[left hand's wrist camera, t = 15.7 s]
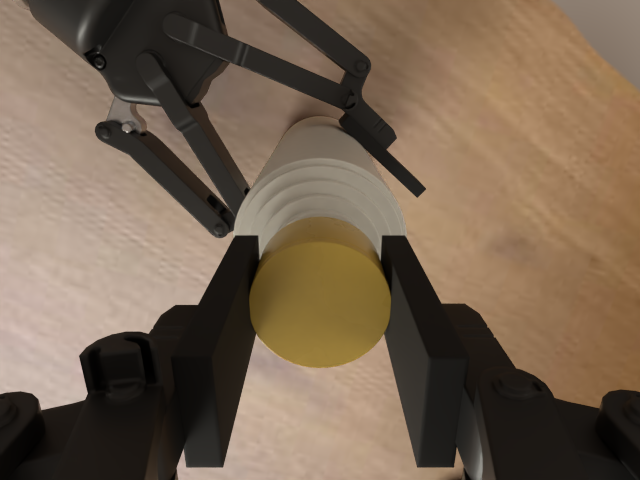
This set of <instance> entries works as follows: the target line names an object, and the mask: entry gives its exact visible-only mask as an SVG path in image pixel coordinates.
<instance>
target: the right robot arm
mask: <svg viewBox="0 0 640 480" xmlns="http://www.w3.org/2000/svg"><path fill="white" fill-rule="evenodd" d="M13 1H14V2H15V3H16V4H17V5H19V6H20V7H22V8H25V9H27V10H30V11H31V13H32V15H33V17H34V18H35V19H36V20H37V21H38V22H39V23H41V24H42V25H43V26H44V27H45V28H47V29H48V30H49V31H50V32H51V33H53V34H54V35H55V36H56V37H57V38H59V39H60V40H61V41H62V42H63V43H65V44H66V45H67V46H68V47H69V48H71V49H72V50H73V51H74V52H75V53H77V54H78V55H79V56H80V57H81V58H83V59H84V60H85V61H86V62H87V63H89V64H90V65H91V66H93V67H94V68H95V69H96V70H98V71H99V72H100V73H101V74H102V76H103V77H104V78H105V80H106V82H107V83H108V86H109V88H110V90H111V91H112V93H113V94H114V95H115V97H114V100H113V103H112V106H111V108H110V111H109V114H108V117H107V120H106V121H104V122H100V123H98V124H97V126H96V127H95V133H96V136H97V137H98V139H99V140H101V141H102V142H104V143H106V144H108V145H110V146H112V147H114V148H116V149H118V150H120V151H122V152H124V153H126V154H128V155H130V156H131V157H132V158H133V159H134V160H135V161H136V162H137V163H138V164H139V165H140V166H141V167H142V168H143V169H144V170H145V171H146V172H147V173H148V174H149V175H150V176H152V177H153V178H154V179H155V180H156V181H157V182H158V183H159V184H160V185H161V186H162V187H163V188H164V189H165V190H166V191H167V192H168V193H169V194H170V195H171V196H172V197H173V198H174V199H175V200H177V201H178V202H179V203H180V204H181V205H182V206H183V207H184V208H185V209H186V210H187V211H188V212H189V213H190V214H191V215H192V216H193V217H194V218H195V219H196V220H197V221H198V222H199V223H200V224H202V225H203V226H204V227H205V228H206V229H207V230H208V231H209V232H210V233H211V234H212V235H213V236H215V237H217V238H223V237H225V236H226V235H227V234H228V233H229V232H231V231H233V230H234V225H235V221H236V217H237V214H238V211H239V209H240V207H241V204H242V202H243V201H244V199H245V197H246V196H247V194H248V193H249V191H250V187H249V185H248V184H247V182H246V180H245V179H244V177H243V175H242V174H241V172H240V170H239V169H238V167H237V165H236V164H235V162H234V160H233V159H232V157H231V155H230V154H229V152H228V150H227V149H226V147H225V145H224V144H223V142H222V140H221V139H220V137H219V135H218V134H217V132H216V130H215V129H214V127H213V125H212V124H211V122H210V120H209V118H208V114H207V112H206V110H205V108H204V107H203V105H202V103H201V102H200V101H201V100H202V99H203V97H204V96H205V95H206V93H207V91H208V89H209V86H210V84H211V81H212V80H213V79H214V78H215V77H217V76H218V75H220V74H221V73H222V72H223V71H224V70H225V68H226V67H227V66H228V65H229V63H230V62H231V63H233V64H236V65H238V66H241V67H243V68H246V69H248V70H251V71H253V72H255V73H258V74H260V75H262V76H265V77H267V78H269V79H272V80H274V81H277V82H279V83H281V84H284V85H286V86H288V87H291V88H293V89H295V90H298V91H300V92H303V93H305V94H307V95H310V96H312V97H314V98H317V99H319V100H321V101H324V102H326V103H329V104H331V105H333V106H336V107H338V108H340V109H342V110H343V111H344V112H345V114H344V115H343V116H342V117H341V118H340V119H339V124H340V126H341V127H342V128H344V129H345V130H346V131H347V132H348V133H349V134H350V135H351V136H352V137H353V138H354V139H355V140H356V141H357V142H359V143H360V144H361V145H362V146H363V147H364V148H365V149H366V150H367V151H368V152H369V153H370V154H371V155H372V156H373V157H374V158H375V159H377V160H378V161H379V162H380V163H381V164H382V165H383V166H384V167H385V168H386V169H387V170H388V171H389V172H390V173H391V174H392V175H394V176H395V177H396V178H397V179H398V180H399V181H400V182H401V183H402V184H403V185H404V186H405V187H406V188H407V189H408V190H410V191H411V192H412V193H413V194H414V195H415V196H416V197H417V198H418V197H419V196H420V195H421V194H422V193H423V192H424V191H425V190H426V188H425V187H424V186H423V185H422V184H421V183H420V182H419V181H418V180H417V179H416V178H415V177H414V176H413V175H412V174H411V173H410V172H409V171H408V170H407V169H406V168H405V167H404V166H403V165H402V164H401V163H399V162H398V161H397V160H396V159H395V158H394V157H393V156H392V155H391V154H390V153H389V152H388V151H387V150H386V149H387V148H388V147H389V146H390V145H391V144H392V143H393V142H394V141H395V140H396V139H397V137H396V135H395V132H394V130H393V129H392V128H391V127H390V126H389V125H388V124H387V123H386V122H385V121H384V120H383V119H382V118H381V117H380V116H379V115H378V114H377V113H376V112H375V111H374V110H373V109H371V108H370V107H369V106H368V105H367V104H366V103H365V101H364V100H363V98H362V94H361V93H362V87H363V84H364V82H365V80H366V77H367V75H368V73H369V72H370V69H371V63H370V60H369V59H368V57H367V56H365V55H364V54H363V53H362V52H360V51H359V50H358V49H357V48H355V47H354V46H353V45H352V44H350V43H349V42H348V41H347V40H345V39H344V38H343V37H342V36H340V35H339V34H338V33H337V32H335V31H334V30H333V29H332V28H330V27H329V26H328V25H327V24H325V23H324V22H323V21H322V20H320V19H319V18H318V17H317V16H315V15H314V14H313V13H312V12H310V11H309V10H308V9H307V8H305V7H304V6H303V5H302V4H301V3H299V2H298V1H297V0H256V1H257V2H258V3H260V4H261V5H262V6H263V7H264V8H265V9H267V10H268V11H269V12H270V13H272V14H273V15H274V16H276V17H277V18H278V19H279V20H281V21H282V22H283V23H284V24H286V25H287V26H288V27H290V28H291V29H292V30H293V31H295V32H296V33H297V34H298V35H300V36H301V37H302V38H304V39H305V40H306V41H307V42H309V43H310V44H311V45H313V46H314V47H315V48H316V49H318V50H319V51H320V52H321V53H323V54H324V55H325V56H327V57H328V58H329V59H330V60H332V61H333V62H334V63H336V64H337V65H338V66H339V67H341V68H342V69H343V70H344V71H345V73H344V75H343V78H342V80H341V83H340V84H338V83H336V82H333V81H331V80H329V79H326V78H324V77H322V76H319V75H317V74H315V73H312V72H310V71H308V70H305V69H303V68H301V67H299V66H296V65H294V64H292V63H289V62H287V61H285V60H282V59H280V58H278V57H275V56H273V55H271V54H268V53H266V52H264V51H261V50H259V49H257V48H255V47H252V46H250V45H248V44H245V43H243V42H241V41H238V40H236V39H234V38H231V37H229V36H228V34H227V30H226V26H225V22H224V18H223V14H222V11H221V7H220V3H219V0H13ZM136 104H144V105H153V106H162V107H163V109H164V111H165V112H166V114H167V115H168V117H169V119H170V120H171V122H172V123H173V125H174V126H175V127H176V128H177V129H178V130H179V131H180V132H181V133H182V134H183V136H184V137H185V139H186V140H187V142H188V144H189V145H190V147H191V148H192V150H193V151H194V153H195V155H196V156H197V158H198V159H199V161H200V163H201V164H202V166H203V167H204V169H205V171H206V172H207V174H208V175H209V177H210V178H211V180H212V182H213V183H214V185H215V186H216V188H217V190H218V191H219V193H220V194H221V196H222V198H223V199H224V201H225V202H226V204H227V205H228V207H229V208H228V207H227V206H226V205H225V204H224V203H223V202H222V201H221V200H220V199H219V198H218V197H217V196H216V195H215V194H214V193H213V192H212V191H211V190H210V189H209V188H208V187H207V186H206V185H205V184H204V183H203V182H202V181H201V180H200V179H199V178H198V177H197V176H196V175H195V174H194V173H193V172H192V171H191V170H190V169H189V168H188V167H187V166H186V165H185V164H184V163H183V162H182V161H181V160H180V159H179V158H178V157H177V156H176V155H175V154H174V153H173V152H172V151H171V150H170V149H169V148H168V147H167V146H166V145H165V144H164V143H163V142H162V141H161V140H160V139H158V138H157V137H156V136H155V135H153V134H152V133H151V132H149V131H147V130H146V129H147V124H146V121H145V120H144V119H143V118H142V117H141V116H140V115H139V114H138V112H137V110H136Z"/></svg>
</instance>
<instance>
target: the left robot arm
mask: <svg viewBox="0 0 640 480" xmlns="http://www.w3.org/2000/svg"><path fill="white" fill-rule="evenodd" d="M259 261H260V256H259V238H258V235H235V237H234V239H233V240H232V242H231V244H230V246H229V248H228V250H227V252H226V254H225V255H224V257H223V259H222V261H221V263H220V265H219V267H218V269H217V270H216V272H215V274H214V276H213V278H212V280H211V282H210V284H209V286H208V287H207V289H206V291H205V293H204V295H203V297H202V299H201V301H200V302H199V304H198V305H175V306H174V307H172V308H171V309H169V310H168V311H166V312H165V313H163V314H162V315H161V316H160V318H159V319H158V321H157V322H156V324H155V325H154V327H153V329H152V330H151V331H150V333H149V334H147V333H143V332H122V333H117V334H112V335H110V336H107V337H104V338H102V339H99V340H97V341H96V342H94V343H93V344H91V345H89V346H88V347H86V348H85V350H84V351H83V352H82V353H81V354H80V356H79V357H80V362H81V366H82V370H83V375H84V379H85V383H86V387H87V392H88V395H87V397H86V399H85V400H84V401H80V402H77V403H73V404H68V405H64V406H59V407H54V408H50V409H45V410H41V407H40V404H39V400H38V399H37V398H36V397H35V396H34V395H33V394H31V393H26V392H10V393H4V394H0V480H178V475H177V469H176V468H177V465H178V462H179V459H180V457H181V454H182V451H183V448H184V454H185V461H186V467H223V465H224V461H225V457H226V453H227V449H228V445H229V441H230V437H231V433H232V429H233V425H234V421H235V417H236V413H237V409H238V405H239V401H240V397H241V393H242V389H243V385H244V381H245V376H246V372H247V368H248V364H249V360H250V356H251V352H252V348H253V344H254V340H255V336H256V332H255V330H254V328H253V326H252V323H251V319H250V305H249V293H250V289H251V286H252V283H253V279H254V276H255V273H256V270H257V267H258V264H259ZM381 264H382V267H383V270H384V273H385V276H386V279H387V282H388V285H389V288H390V292H391V308H390V320H389V323H388V326H387V328H386V330H385V332H384V335H385V339H386V343H387V347H388V351H389V355H390V359H391V363H392V367H393V371H394V375H395V379H396V383H397V388H398V392H399V396H400V400H401V404H402V408H403V412H404V416H405V420H406V424H407V428H408V432H409V436H410V440H411V444H412V448H413V452H414V456H415V460H416V464H417V467H454V462H455V456H456V449H457V448H458V451H459V454H460V456H461V459H462V462H463V465H464V469H463V475H462V480H640V392H637V391H630V390H616V391H611V392H608V393H607V394H606V395H605V396H604V397H603V398H602V402H601V405H600V409H599V408H595V407H590V406H585V405H581V404H576V403H571V402H567V401H563V400H560V399H556V398H554V396H553V394H552V392H551V391H550V389H549V388H548V387H547V385H546V384H545V383H544V382H542V381H541V380H540V379H538V378H537V377H536V376H534V375H532V374H530V373H527V372H525V371H523V370H520V369H516V368H515V366H514V365H513V363H512V362H511V360H510V359H509V357H508V356H507V354H506V353H505V351H504V350H503V348H502V347H501V345H500V344H499V342H498V341H497V339H496V338H494V335H493V333H492V332H491V330H490V329H489V328H487V324H486V323H485V321H484V320H483V318H482V317H481V315H480V314H479V313H478V312H476V311H475V310H473V309H472V308H470V307H469V306H467V305H466V304H441V302H440V300H439V298H438V296H437V294H436V292H435V291H434V289H433V287H432V285H431V283H430V281H429V279H428V277H427V276H426V274H425V272H424V270H423V268H422V266H421V264H420V262H419V261H418V259H417V257H416V255H415V253H414V251H413V249H412V247H411V246H410V244H409V242H408V240H407V238H406V236H405V235H382V243H381Z"/></svg>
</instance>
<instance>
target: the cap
mask: <svg viewBox="0 0 640 480" xmlns="http://www.w3.org/2000/svg"><path fill="white" fill-rule="evenodd" d="M249 305H250V319H251V323H252V326H253V328H254V330H255V332H256V334H257V335H258V337H259V338H260V340H261V341H262V342H263V343H264V345H265V346H266V347H267V348H269V349H270V350H271V351H272V352H273V353H275V354H276V355H277V356H279V357H281V358H283V359H284V360H287V361H289V362H291V363H294V364H297V365H301V366H306V367H313V368H328V367H335V366H339V365H343V364H346V363H349V362H351V361H354V360H356V359H357V358H359V357H361V356H363V355H364V354H365V353H367V352H368V351H369V350H370V349H372V348H373V347H374V346H375V345H376V343H377V342H378V341H379V340H380V339H381V337H382V336H383V334H384V332H385V330H386V328H387V326H388V323H389V320H390V308H391V292H390V288H389V285H388V282H387V279H386V276H385V273H384V270H383V267H382V264H381V261H380V258H379V255H378V252H377V250H376V248H375V246H374V245H373V243H372V242H371V240H370V239H369V238H368V237H367V236H366V235H365V234H364V233H363V232H362V231H361V230H359V229H358V228H357V227H355V226H354V225H352V224H350V223H348V222H345V221H342V220H340V219H336V218H331V217H309V218H304V219H301V220H297V221H295V222H293V223H290V224H288V225H287V226H285V227H284V228H282V229H281V230H279V231H278V232H277V233H276V234H275V235H274V236H273V237H272V238H271V239H270V241H269V242H268V243H267V245H266V246H265V248H264V250H263V252H262V255H261V258H260V261H259V264H258V267H257V270H256V273H255V276H254V279H253V283H252V286H251V289H250V293H249Z"/></svg>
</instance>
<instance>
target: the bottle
mask: <svg viewBox="0 0 640 480" xmlns="http://www.w3.org/2000/svg"><path fill="white" fill-rule="evenodd" d="M309 217H331V218H336V219H340V220H342V221H345V222H348V223H350V224H352V225H354V226H355V227H357V228H358V229H359V230H361V231H362V232H363V233H364V234H365V235H366V236H367V237H368V238H369V239H370V240H371V242H372V243H373V245H374V246H375V248H376V250H377V252H378V255H379V258H380V261H381V243H382V235H405V236H406V238H407V232H406V225H405V220H404V217H403V213H402V211H401V209H400V206H399V204H398V202H397V200H396V199H395V197H394V196H393V194H392V192H391V191H390V189H389V187H388V186H387V184H386V183H385V181H384V179H383V178H382V176H381V175H380V173H379V171H378V170H377V168H376V166H375V165H374V163H373V162H372V160H371V158H370V157H369V155H368V153H367V152H366V150H365V149H364V147H363V146H362V145H361V144H360V143H359V142H357V141H356V140H355V139H354V138H353V137H352V136H351V135H350V134H349V133H348V132H347V131H346V130H345V129H344V128H342V127H341V126H340V124H339V120H337V119H334V118H331V117H326V116H314V117H309V118H306V119H303V120H301V121H299V122H297V123H296V124H294V125H293V126H292V127H291V128H289V129H288V131H287V132H286V133H285V134H284V136H283V137H282V139H281V140H280V142H279V144H278V145H277V147H276V149H275V150H274V152H273V154H272V155H271V157H270V158H269V160H268V162H267V163H266V165H265V167H264V168H263V170H262V171H261V173H260V175H259V176H258V178H257V180H256V181H255V183H254V184H253V186H252V188H251V189H250V191H249V193H248V194H247V196H246V197H245V199H244V201H243V202H242V204H241V207H240V209H239V211H238V214H237V217H236V221H235V225H234V233H233V239H234V237H235V235H258V238H259V256H260V258H261V255H262V252H263V250H264V248H265V246H266V245H267V243H268V242H269V241H270V239H271V238H272V237H273V236H274V235H275V234H276V233H277V232H278V231H279V230H281V229H282V228H284V227H285V226H287V225H288V224H290V223H293V222H295V221H297V220H301V219H304V218H309Z"/></svg>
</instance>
